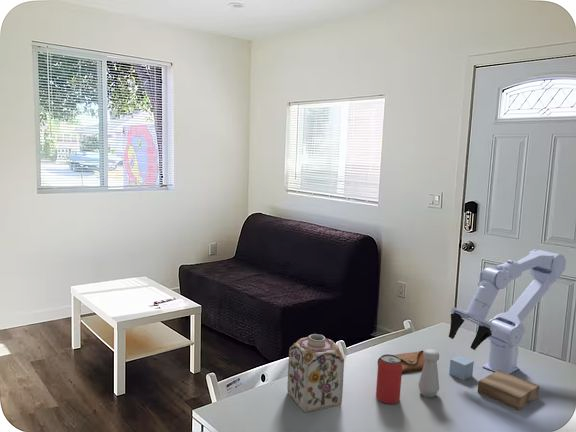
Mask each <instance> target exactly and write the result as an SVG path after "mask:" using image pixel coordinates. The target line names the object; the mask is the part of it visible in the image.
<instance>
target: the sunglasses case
mask: <svg viewBox="0 0 576 432" xmlns="http://www.w3.org/2000/svg"><path fill="white" fill-rule="evenodd" d="M424 351H425V350H420V351H415V352H404V353H403V352H402V353H399V354H394V355H395V356H398V357H399V358H400V359H401V364H402V373H404V374H408V373H407V372H409V373H414V371H415V372H421V371H420V370H423V366H424V363H425V358H424ZM380 359H381V358H380V357H379V358H378V359H377V364H378V363H379V360H380Z"/></svg>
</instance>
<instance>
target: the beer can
mask: <svg viewBox="0 0 576 432" xmlns="http://www.w3.org/2000/svg"><path fill="white" fill-rule="evenodd" d="M395 355H396V354H388V353H387V354H382V355H381V356H380V357H379V358H381V359H380V360H379V363H378V362H377V373H376V376H377V377H376V386H375V387H376V388H375V397H376V398H377V400H378V401H379V402H381V403H383V404H388V405H393V404H396V403H399V401H400V399H401V388H402V387H401V385H402V375H403V374H402V364H401V359H400V358H399V357H398V356H395Z"/></svg>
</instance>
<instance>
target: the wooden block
mask: <svg viewBox="0 0 576 432" xmlns="http://www.w3.org/2000/svg"><path fill="white" fill-rule="evenodd" d="M477 384H478V385H477V394H481V395H482V396H485V397H487V398H490V399H491V400H494V401H497V402H498V403H501V404H503V405H506V406H508V407H510V408H513V409H515V410H516V411H520V410H521V409H523V408H524V407H526V406H527V405H529V404H530V403H532V402H533V401H534V400H536V399H537V398H538V397H539V391H540V390H539V389H540V385H539V384H536V383H533V382H531V381H529V380H526V379H524V378H521V377H518V376H515V375H512V374H511V373H510V374H508V373H505V372H503V371H500V370H498V371H496V372H494V371H493V373H490V374H489V375H487V376H485V377H483V378H481V379H480V380H478V383H477Z"/></svg>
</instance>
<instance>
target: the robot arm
mask: <svg viewBox="0 0 576 432" xmlns="http://www.w3.org/2000/svg"><path fill="white" fill-rule="evenodd" d="M566 262H567V261H566V257H565V255H563V254H562V253H554V252H550V251H547V250H542V249H539V248H535V249H533V250H530V251H529V253H528V255H526V256H524V257H523V258H521V259H518V261H517V260H512V259H508V260H506V261H505V262H503V263H501V264H497V265H496V266H494V267H489V266H488V267H485V268H484V269H483V270H482V271H480V272H479V281H478V282H477V289H476V291H475V293H474V295H473V296H472V299H471V301H470V302H469V305H468V307H467V309H466V310H463V309H460V308H457V307H455V306H452V309H451V310H450V327H449V334H448V338H449V339H451V340H454V339H455V337H456V335H457V334H458V333H457V332H458V331H459V329H460V328H461V327H462V325H463V324H464V322H465V320H467V321H469V322H471V323H473V324H475V325H477V326H478V327H477V331H476V334H475V337H474V339H473V341H472V343H471V345H470V349H471V350H473V351H476V350H477V348H478V347H479V346H480V345H482V343H483V342H484V341H485V340H487V339H488V340H489V341H490V343H489V351H488V358H487V359H488V360H487V362H486V363H484V364H482V365H481V366H482V367H483V368H485V369H487V370H489V371H492V372H493V373H494V372H496V371H498V370H500V371H503V372H505V373H508V374H510V375H511V374H512V373H513V372H515V371H518V370H519V369H520V366H518V365H517V364H518V356H519V347H518V345H519V344H520V343H521V341H522V338H523V336H524V334H525V333H526V329H525V325H524V324H523V322H524V321H525V320H526V319H527V317H529V314H530V313H531V312H532V311H533V309H534V308H535V307H536V306H537V305H538V304H539V302H540V301H541V300H542V298H544V296H545V295H546V294H547V292H548V291H549V289H551V287H552V286H553V284H554V282H555V283H556V282H557V281H558V279H559V278H560V277H561V276H562V274H563V272H565V270H566ZM528 270H529V272H530V275H531V276H532V278H533V280H532V281H530V283H529V285H528V286H527V287H526V288H525V289H524V291H523V292H522V293H521V295H519V297H518V298H517V299H516V301H515V302H514V303H513V304H512V305H511V306H510V308H509V309H508V310H507V311H506V312H505V311H504V312H502V313H497V314H496V315H495V316H494V317H493V318H490V319H489V321H487V320H485V319H486V318H487V316H488V313H489V311H490V310H491V307H492V305H493V304H494V301H495V299H496V298H497V295H498V293H499V292H500V290H503V289H504V290H505V288H506V287H507V286H508V284H510V282H512V281H514V280H516V279H519V277H521V276H522V274H523V272H525V271H528Z"/></svg>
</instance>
